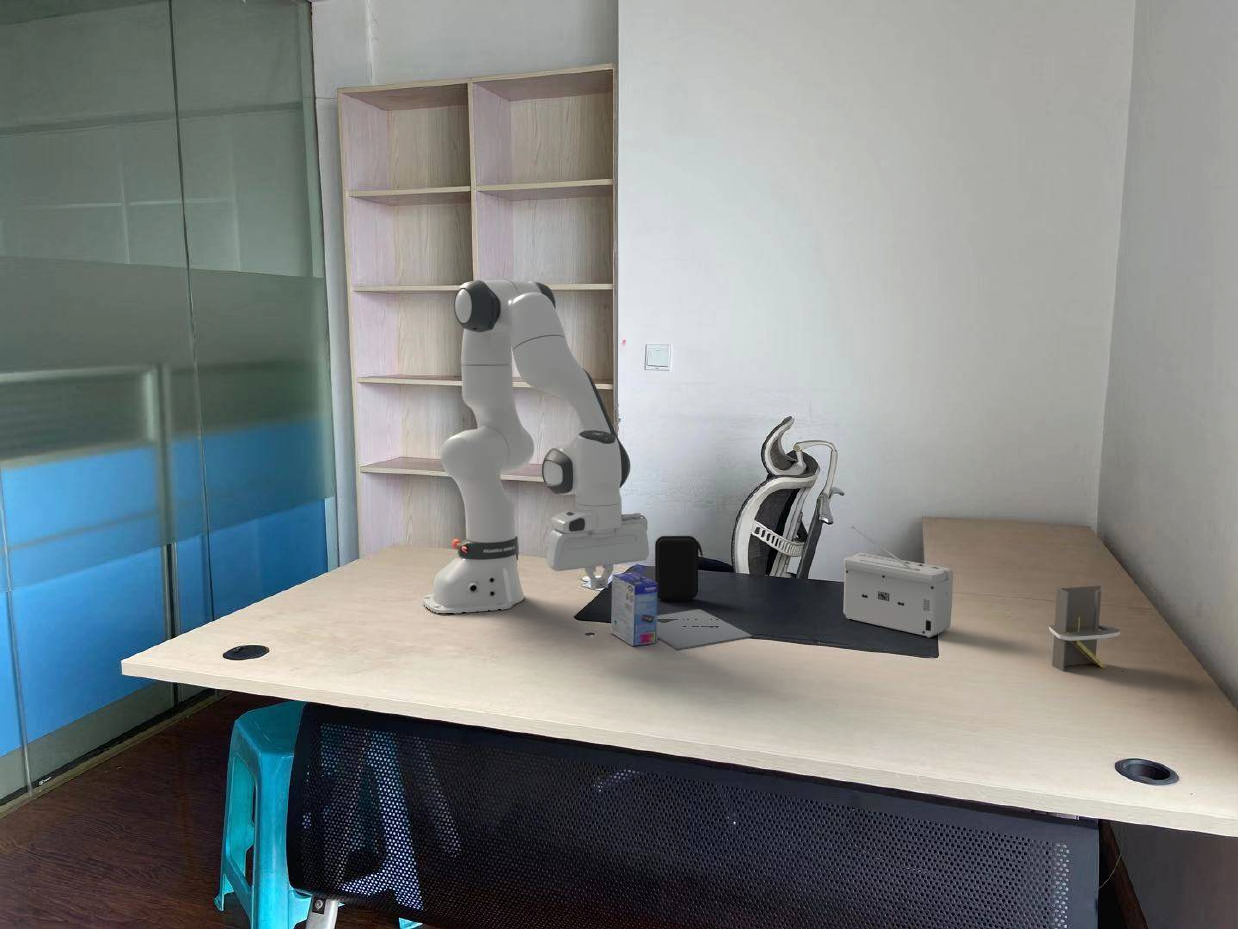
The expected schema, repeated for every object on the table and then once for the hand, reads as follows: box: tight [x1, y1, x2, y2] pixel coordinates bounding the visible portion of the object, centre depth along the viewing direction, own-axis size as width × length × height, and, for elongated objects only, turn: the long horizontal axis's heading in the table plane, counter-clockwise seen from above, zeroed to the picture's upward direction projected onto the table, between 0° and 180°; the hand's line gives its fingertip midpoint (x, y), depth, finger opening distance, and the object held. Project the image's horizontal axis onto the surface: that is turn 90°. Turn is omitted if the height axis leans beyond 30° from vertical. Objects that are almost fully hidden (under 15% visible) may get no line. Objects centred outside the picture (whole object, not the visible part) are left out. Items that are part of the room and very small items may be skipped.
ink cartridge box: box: [610, 563, 658, 647], centre depth 183 cm, size 10×6×14 cm, turn 27°
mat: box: [656, 608, 753, 651], centre depth 189 cm, size 17×20×1 cm
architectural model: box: [1048, 584, 1121, 672], centre depth 166 cm, size 20×25×15 cm
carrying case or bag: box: [654, 535, 704, 601], centre depth 209 cm, size 11×3×15 cm, turn 90°
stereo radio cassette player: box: [842, 525, 954, 639], centre depth 190 cm, size 21×8×20 cm, turn 47°
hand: (599, 588), depth 179 cm, fingers closed
